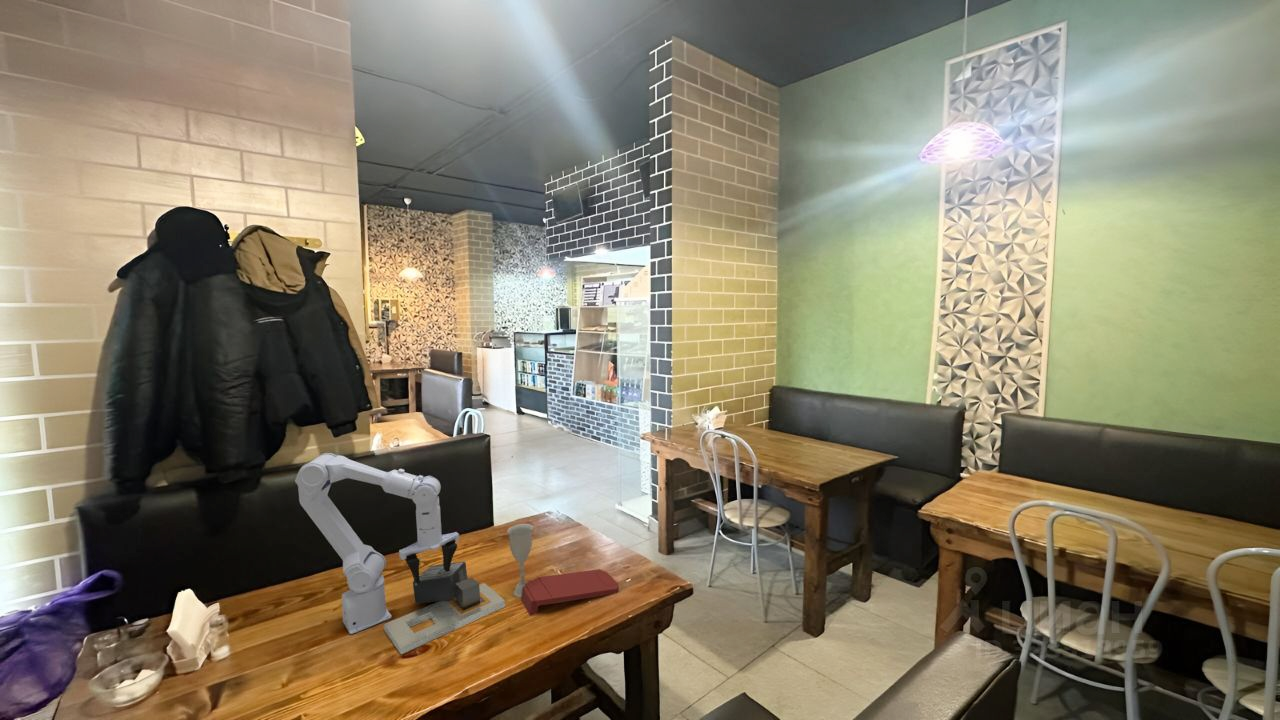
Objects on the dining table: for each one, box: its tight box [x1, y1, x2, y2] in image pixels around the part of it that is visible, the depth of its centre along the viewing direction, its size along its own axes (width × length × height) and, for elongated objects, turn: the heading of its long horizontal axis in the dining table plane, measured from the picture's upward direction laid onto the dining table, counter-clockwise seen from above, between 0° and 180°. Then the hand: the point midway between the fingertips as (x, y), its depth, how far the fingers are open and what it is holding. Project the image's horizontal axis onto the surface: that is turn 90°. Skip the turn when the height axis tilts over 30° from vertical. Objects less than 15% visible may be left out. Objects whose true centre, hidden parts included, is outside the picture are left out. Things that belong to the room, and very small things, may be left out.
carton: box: [520, 568, 619, 617], centre depth 135 cm, size 12×5×25 cm
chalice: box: [507, 523, 534, 598], centre depth 135 cm, size 7×7×18 cm
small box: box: [412, 561, 468, 605], centre depth 134 cm, size 11×6×10 cm
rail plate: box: [383, 582, 506, 655], centre depth 125 cm, size 26×12×2 cm, turn 133°
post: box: [455, 577, 480, 611], centre depth 128 cm, size 4×4×7 cm
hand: (432, 575), depth 127 cm, fingers open, 7 cm apart
